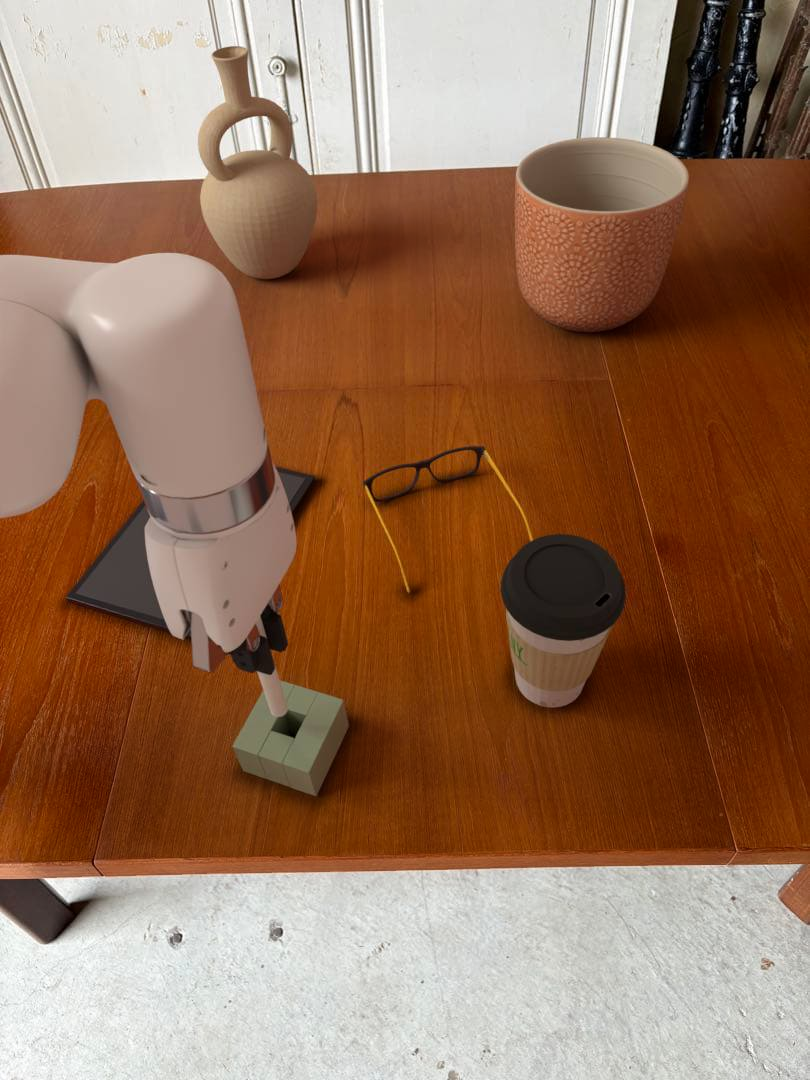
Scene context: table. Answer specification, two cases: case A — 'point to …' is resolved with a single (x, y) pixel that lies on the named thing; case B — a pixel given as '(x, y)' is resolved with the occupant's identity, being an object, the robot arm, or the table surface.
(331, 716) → the stylus holder
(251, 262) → the vase
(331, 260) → the table surface
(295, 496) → the tablet
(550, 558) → the coffee cup
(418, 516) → the table surface
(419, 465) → the eyeglasses
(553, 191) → the planter
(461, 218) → the table surface
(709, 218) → the table surface
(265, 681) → the stylus
